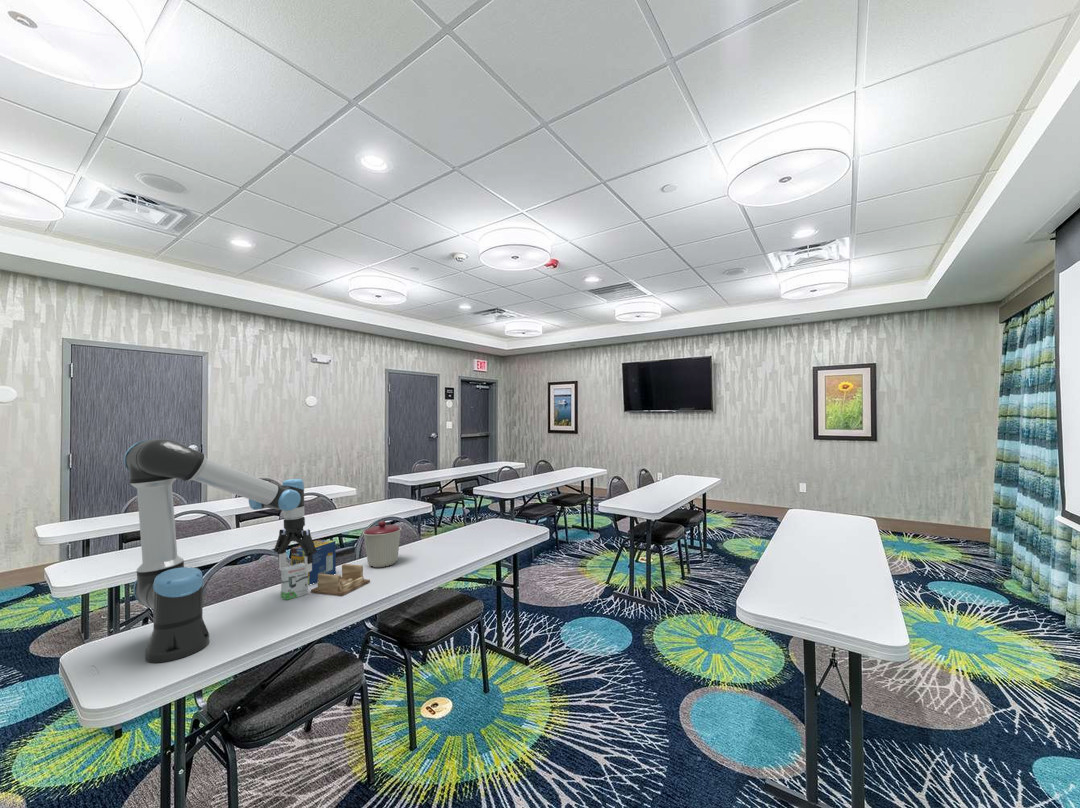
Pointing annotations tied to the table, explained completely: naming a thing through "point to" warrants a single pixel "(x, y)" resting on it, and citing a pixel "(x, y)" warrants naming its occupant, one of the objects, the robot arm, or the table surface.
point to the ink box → (294, 581)
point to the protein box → (317, 559)
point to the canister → (382, 544)
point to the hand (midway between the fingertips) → (295, 570)
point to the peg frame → (341, 581)
